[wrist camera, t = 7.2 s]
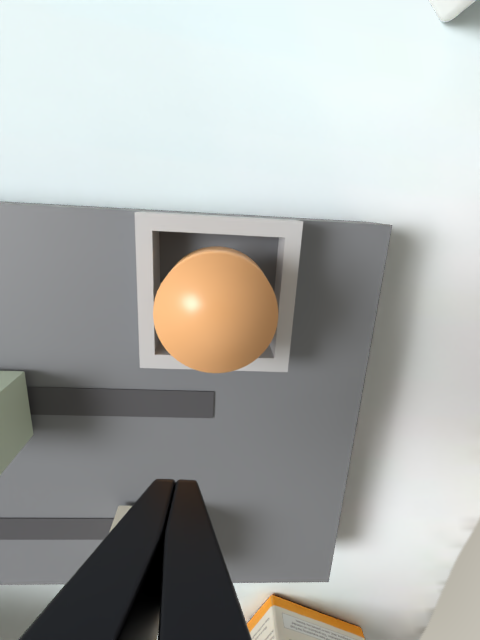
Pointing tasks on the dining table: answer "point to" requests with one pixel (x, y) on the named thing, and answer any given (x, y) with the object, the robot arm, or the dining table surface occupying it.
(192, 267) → the copper button
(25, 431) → the sage slider
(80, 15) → the dining table surface
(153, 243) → the control panel
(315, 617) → the supplement box
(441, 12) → the medicine bottle
